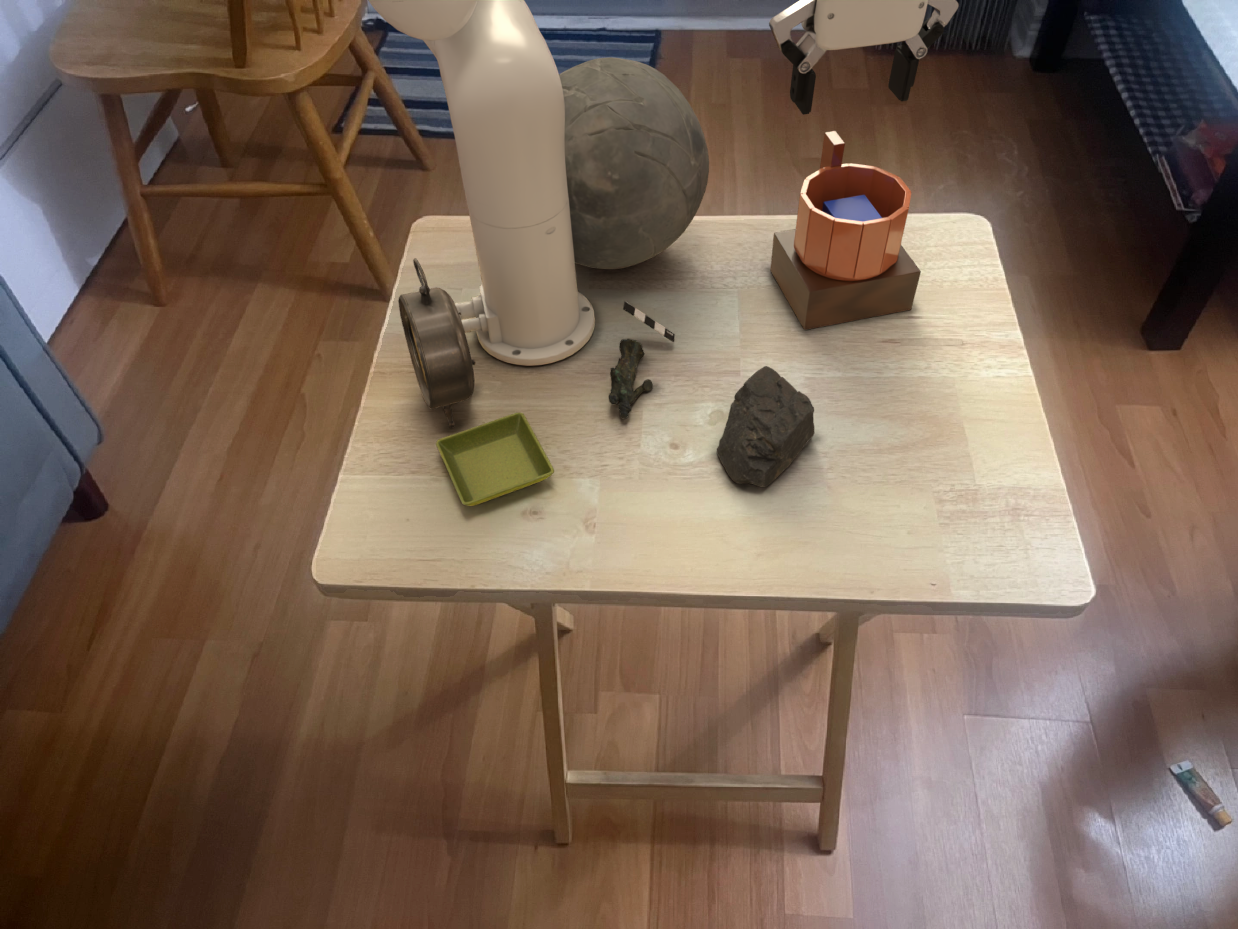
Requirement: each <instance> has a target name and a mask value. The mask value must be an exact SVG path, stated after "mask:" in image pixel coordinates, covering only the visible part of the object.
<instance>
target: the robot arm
mask: <svg viewBox="0 0 1238 929" xmlns="http://www.w3.org/2000/svg"><path fill="white" fill-rule="evenodd" d="M367 1H368V2H369V4H370V5H371V6H372V8H373V9H374V10H375V12H377V14H379V16H380V17H381V18H382V19H383V20H384V21H385V22H387V24H389V25H391V27H392V28H394V29H395V30H397V31H398V32H400V33H402V34H404V35H407V36H409V37H411V38H413V39H417V40H422V41H423V42H424V44H425V45H426V46H427V48H428V49H429V50H430V51H431V53H432V55H433V56H434V57H435V58H436V60H437V64H438V68H439V74H440V79H441V82H442V86H443V90H444V92H445V98H446V103H447V106H448V107H447V108H448V112H449V117H450V122H451V127H452V131H453V135H454V141H455V147H456V152H457V159H458V164H459V170H460V176H461V181H462V186H463V192H464V197H465V201H466V207H467V211H468V215H469V221H470V227H471V232H472V237H473V242H474V247H475V248H474V249H475V253H476V258H477V263H478V267H479V268H478V269H479V273H480V279H481V284H480V285H479V286H478V287H479V294H480V295H476V296H471V300H467V301H461V302H454V303H455V305H456V308H457V310H458V313H459V312H460V313H461V315H460V314H459V315H460V318H461V321H462V324H463V327H464V330H465V334H467V333H471V332H474V331H475V332H476V336H477V339H478V342H479V344H480V346H481V347H482V349H484V351H486V352H487V353H488V354H489V355H490V356H492V357H493V358H494V359H497V360H500V361H501V362H504V363H508V364H512V365H517V366H528V367H529V366H542V365H548V364H553V363H555V362H559V361H562V360H565V359H567V358H569V357H570V356H572V355H574V354H576V353H577V352H578V351H579V350H581V349H582V348H584V346H586V344H587V343H588V342H589V340H590V339H591V337H592V336H593V333H594V330H595V326H596V325H595V324H596V318H595V311H594V308H593V305H592V303H591V302H590V300H589V299H588V298H587V297H586V296H585V295H584V294H583V293H582V292H580V291H578V285H577V272H576V263H575V261H574V250H573V239H572V229H571V218H570V207H569V197H568V189H567V177H566V165H565V146H564V132H565V105H564V96H563V89H562V84H561V80H560V77H559V74H560V73H559V70H558V68H557V65H556V62H555V60H554V57H553V55H552V53H551V51H550V48H549V46H548V43H547V42H546V40H545V37H544V35H543V34H542V33H541V31H540V28H539V27H538V24H537V21H536V19H535V17H534V15H533V13H532V12H531V9H530V8H529V6H528V4H527V2H526V1H525V0H367ZM928 5H929V6H930V7H933V8H934V9H933V11H932V13H931V16H929V17H928V18H927V19H926V20H925V17H926V12H927V9H928ZM959 5H960V4H959V2H958V1H957V0H798V1H796V2H795V3H793V4H792V5H790V6H788V7H787V8H786V9H784V10H782V11H780V12H779V13H778V14H776V15H775V16H773V17H771V18H770V20H769V21H768V26H769V28H770V31H771V33H772V36H773V39H774V41H775V43H776V46H777V48H778V49H779V50H780V51H781V53H782V55H783V56H784V57H785V58H786V59H787V60H788V61H789V62H790V63H791V64H792V71H791V78H790V88H789V97H790V100H791V102H792V103H794V104H795V106H796V108H798V110H799V112H800V113H801V115H802V116H805V115H809V114H810V113H812V107H813V101H814V100H813V99H814V92H815V86H816V79H817V74H816V72H815V71H814V69H813V67H814V66H816V64H817V63H818V62H819V61H820V60H821V58H822V57H823V56H824V55H825V54H826V53H827V51H838V50H847V49H848V50H849V49H855V48H863V47H872V46H880V45H888V44H894V43H900V42H901V45H896V49H895V50H894V54H893V58H892V64H891V69H890V73H889V79H888V80H889V81H888V83H887V84H888V85H887V86H888V89H889V90H890V92H892V94H893V95H894V96H895V97H896V98H897V99H898V101H900V102H901V103H903V102H908V101H909V98H910V93H911V88H913V87H914V85H915V81H916V76H917V72H918V69H919V68H918V67H919V62H920V59H923V58H924V57H926V55H927V53H928V49H929V48H930V47H931V46H932V45H934V43H935V42H936V41H937V40H938V39H939V38H941V36H942V35H943V34H944V32H945V27H946V26H947V25H948V24H949V22H950V21H951V19H952V18H953V16H954V15H955V14H956V12H957V11H958V8H959ZM924 20H925V21H924ZM800 24H801V28H802V29H803V31H805V33H804V34H802V36H801V38H800V39H799V40H798V41H797V43H795V42H794V40H793V39H792V36H791V35H792V34H791V31H792V30H793V29H794V28H795V27H797V26H798V25H800Z"/></svg>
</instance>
